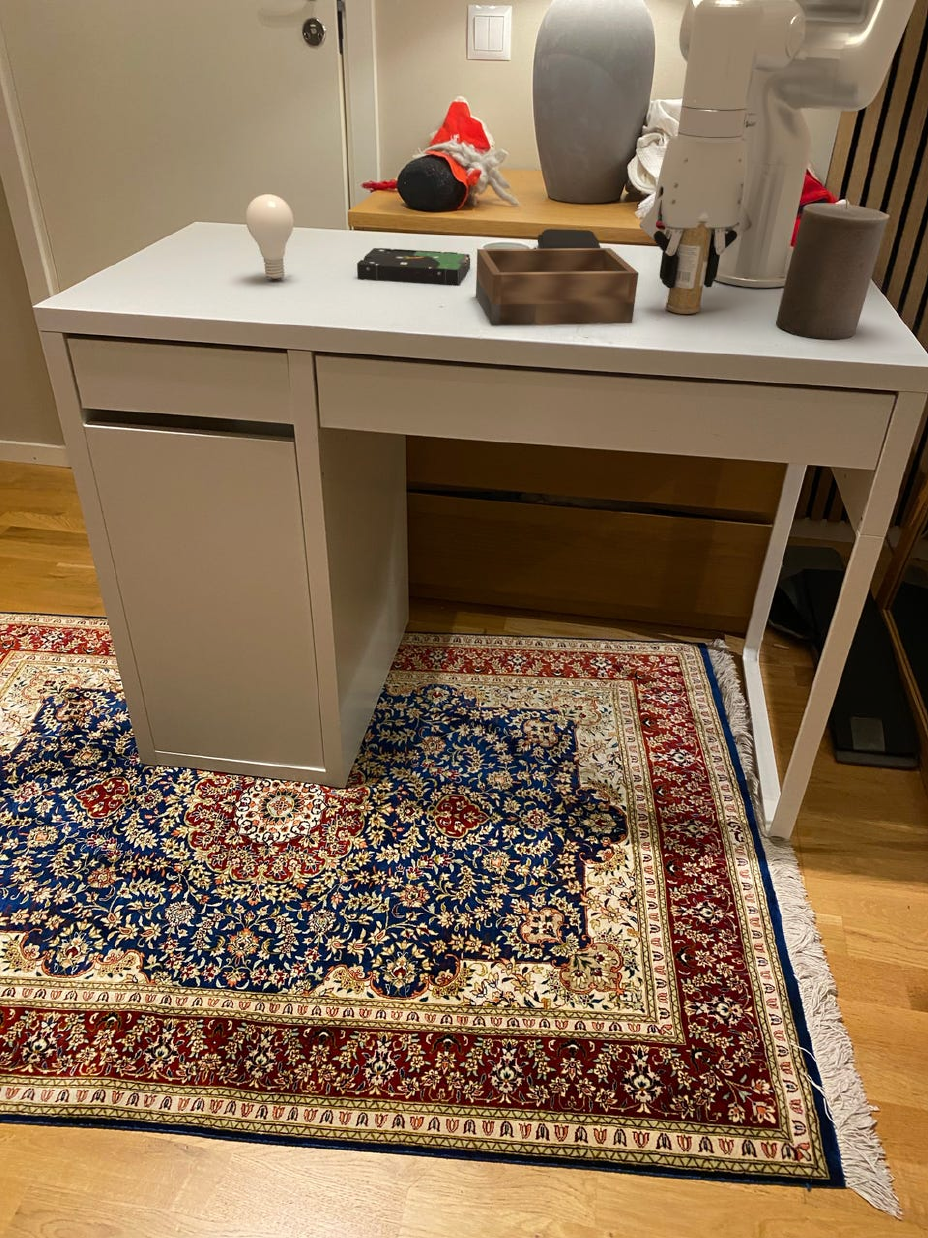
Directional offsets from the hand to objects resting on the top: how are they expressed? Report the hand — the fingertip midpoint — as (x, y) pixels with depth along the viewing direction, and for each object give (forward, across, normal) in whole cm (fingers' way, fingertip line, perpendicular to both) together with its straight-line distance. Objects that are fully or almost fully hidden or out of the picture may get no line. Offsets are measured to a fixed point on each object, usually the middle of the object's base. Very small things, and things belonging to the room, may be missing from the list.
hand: (686, 283), depth 116 cm
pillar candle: (+4, -15, +8) cm, 17 cm away
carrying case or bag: (+4, +9, -31) cm, 32 cm away
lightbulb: (+3, +53, -18) cm, 56 cm away
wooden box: (+3, +17, -2) cm, 18 cm away
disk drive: (+4, +33, -20) cm, 39 cm away
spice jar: (+4, 0, 0) cm, 4 cm away
